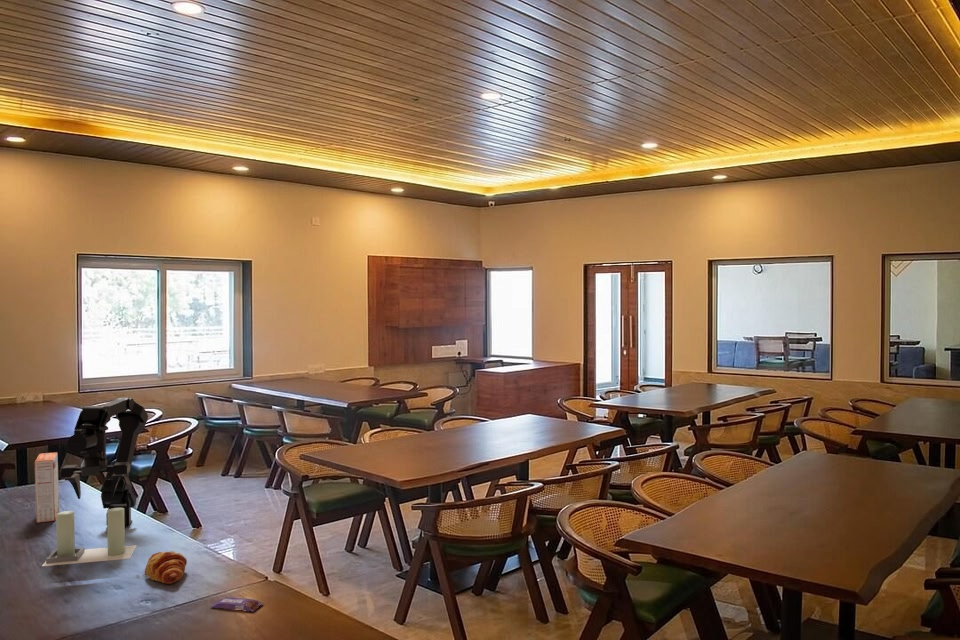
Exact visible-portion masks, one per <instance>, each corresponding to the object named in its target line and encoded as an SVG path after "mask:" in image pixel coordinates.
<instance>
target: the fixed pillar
mask: <svg viewBox="0 0 960 640" xmlns="http://www.w3.org/2000/svg"><path fill="white" fill-rule="evenodd" d="M106 513H107V519H106V526H107V527H106V529H107V548H108V555H110V556H115V555H120V554H123V553H125V546H126V545H125V544H126V542H125V541H126V540H125V539H126V538H125V537H126V536H125V528H126V527H125V526H124V508H112V509H109V510H108V509H107V510H106Z"/></svg>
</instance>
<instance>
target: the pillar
mask: <svg viewBox="0 0 960 640" xmlns="http://www.w3.org/2000/svg"><path fill="white" fill-rule="evenodd" d="M55 521H56V528H55V529H56V550H57V557H66V556H75V548H76V545H75V544H76V543H75V533H76V532H75V511H74V510H65V511H58V513H57V514H56V520H55Z"/></svg>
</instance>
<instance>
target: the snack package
mask: <svg viewBox="0 0 960 640" xmlns="http://www.w3.org/2000/svg"><path fill="white" fill-rule="evenodd" d="M261 603H262V602H260V601H259V600H257V599H253V598H252V599H251V598H242V597H235V596H234V597H232V596H229V597H225V598H221V599H219V600H218V601H217V602H214V604H212V605H210V606H209V608H213V609H216V608H224V609H223V610H225V609H241V610H246V611H251V612H255V611H256V610H257V609H258V608H260V607H261V606H262V605H261ZM260 605H261V606H260ZM259 606H260V607H259Z"/></svg>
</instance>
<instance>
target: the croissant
mask: <svg viewBox="0 0 960 640" xmlns="http://www.w3.org/2000/svg"><path fill="white" fill-rule="evenodd" d="M187 563H188V561H187V558H186V557H185V556H184V555H183V554H181V553H179V552H174V551H164V552H163V551H159V552H156V553H153V554H151V556H150V557H149V558H148V559H147V564H146V566H145V568H144V575H145V576H147V577H148V578H149V579H150V580H152V581H154V580H155V581H154V582H160V583H162V584H167V585H170V584H173V583H175V582H179V581H180V580H181V579H182V577H183V575H184V574H185V570H186V566H187ZM178 580H179V581H178Z"/></svg>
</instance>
